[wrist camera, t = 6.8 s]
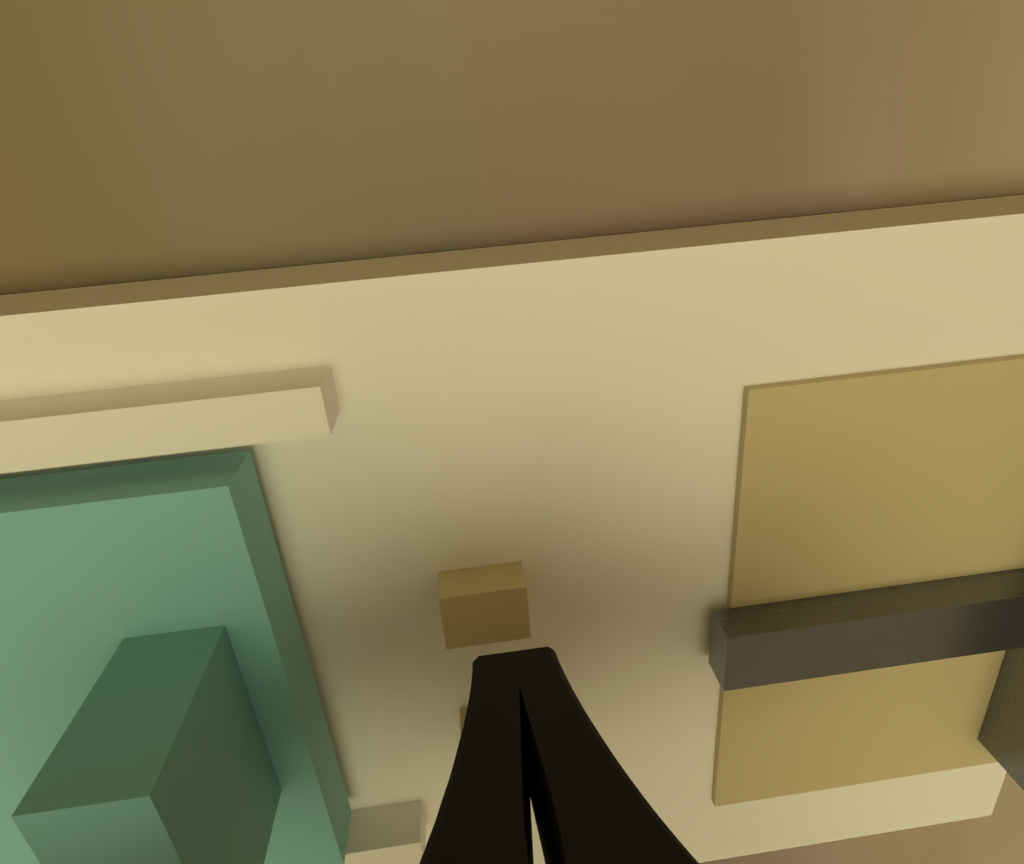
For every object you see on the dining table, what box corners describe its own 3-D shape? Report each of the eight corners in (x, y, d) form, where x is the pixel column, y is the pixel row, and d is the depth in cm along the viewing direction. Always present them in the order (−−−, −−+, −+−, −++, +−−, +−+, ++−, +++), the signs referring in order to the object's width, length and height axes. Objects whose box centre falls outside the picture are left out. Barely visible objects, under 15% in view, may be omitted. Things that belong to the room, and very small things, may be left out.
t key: (1038, 729, 16) (1153, 841, 13) (700, 782, 15) (752, 908, 13) (1165, 391, 12) (1360, 457, 9) (723, 444, 11) (803, 530, 9)
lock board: (938, 751, 19) (1021, 851, 17) (44, 891, 18) (-28, 1027, 15) (1103, 186, 13) (1288, 199, 10) (-318, 326, 11) (-569, 387, 8)
